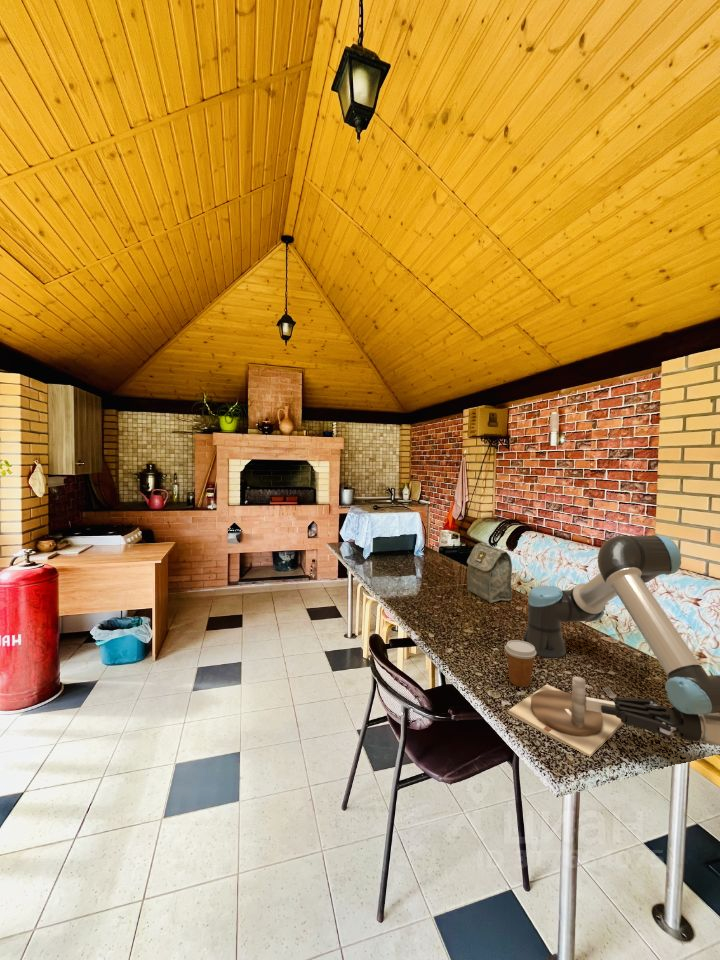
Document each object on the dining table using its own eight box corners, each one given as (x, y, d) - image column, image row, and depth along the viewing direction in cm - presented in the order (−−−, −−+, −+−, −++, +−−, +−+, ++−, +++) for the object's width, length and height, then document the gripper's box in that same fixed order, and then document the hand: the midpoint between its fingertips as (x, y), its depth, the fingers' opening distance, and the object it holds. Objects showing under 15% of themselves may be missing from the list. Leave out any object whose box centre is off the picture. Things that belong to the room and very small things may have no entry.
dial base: (546, 687, 129) (546, 683, 129) (624, 722, 111) (624, 718, 111) (508, 713, 115) (508, 709, 115) (590, 758, 98) (590, 754, 98)
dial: (521, 694, 122) (522, 651, 122) (581, 695, 122) (582, 652, 121) (547, 734, 104) (548, 684, 104) (617, 736, 104) (619, 685, 103)
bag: (463, 590, 223) (464, 541, 222) (488, 587, 228) (489, 540, 227) (487, 604, 202) (488, 550, 200) (514, 601, 207) (515, 548, 205)
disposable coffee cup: (510, 670, 138) (510, 636, 138) (539, 680, 132) (540, 645, 132) (499, 682, 131) (500, 646, 130) (530, 693, 125) (531, 656, 124)
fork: (651, 726, 110) (651, 719, 110) (602, 693, 126) (602, 687, 126) (658, 724, 111) (658, 717, 111) (608, 692, 126) (608, 686, 126)
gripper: (708, 757, 91) (590, 732, 99) (685, 722, 103) (581, 703, 112) (709, 725, 91) (590, 703, 99) (686, 694, 103) (582, 676, 111)
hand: (586, 703), depth 105 cm, fingers closed
